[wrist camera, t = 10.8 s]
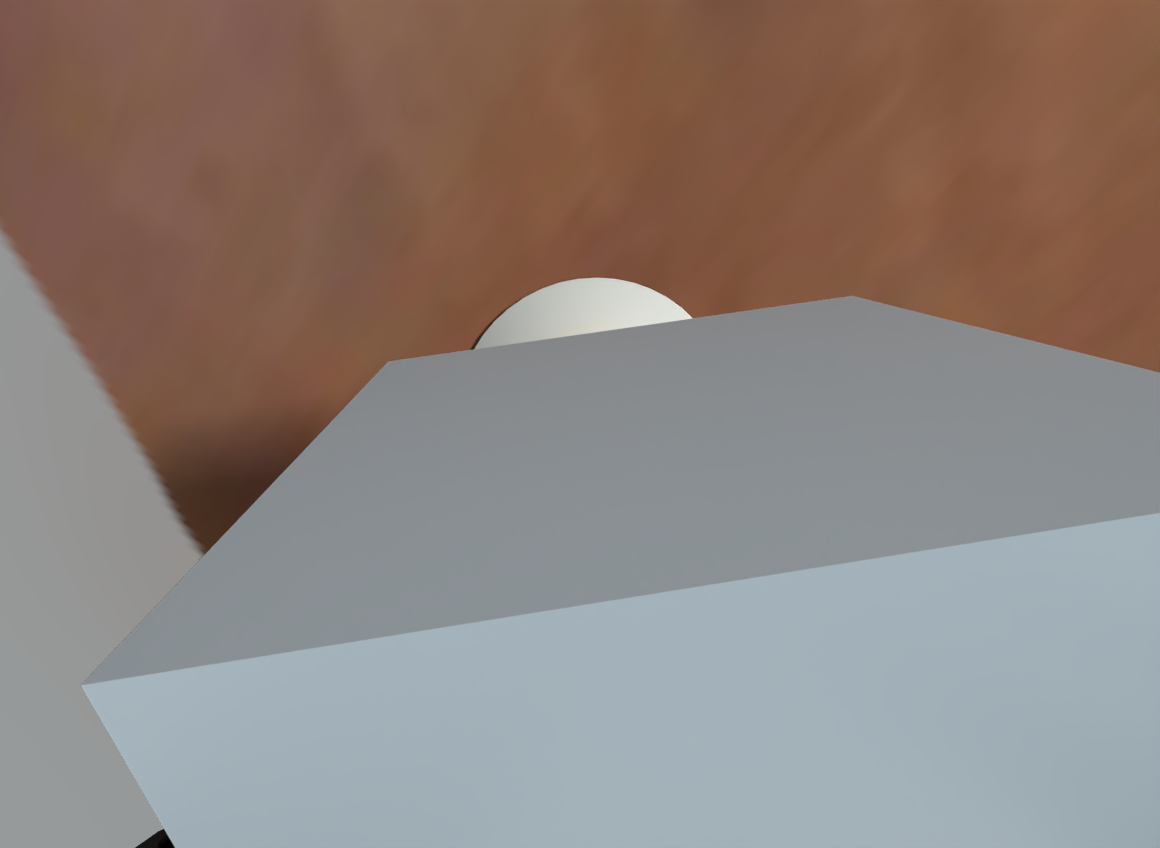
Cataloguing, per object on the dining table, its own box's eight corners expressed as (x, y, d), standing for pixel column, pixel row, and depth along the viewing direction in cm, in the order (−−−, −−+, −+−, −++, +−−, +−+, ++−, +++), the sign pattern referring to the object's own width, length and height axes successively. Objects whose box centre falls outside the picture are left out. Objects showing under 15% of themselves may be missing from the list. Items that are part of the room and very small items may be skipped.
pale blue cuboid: (834, 655, 16) (1158, 1123, 8) (478, 715, 16) (423, 1272, 7) (852, 296, 12) (1499, 458, 4) (388, 361, 12) (79, 685, 4)
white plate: (727, 509, 30) (728, 511, 30) (486, 547, 29) (485, 549, 29) (719, 259, 25) (720, 259, 25) (432, 298, 25) (431, 299, 25)
